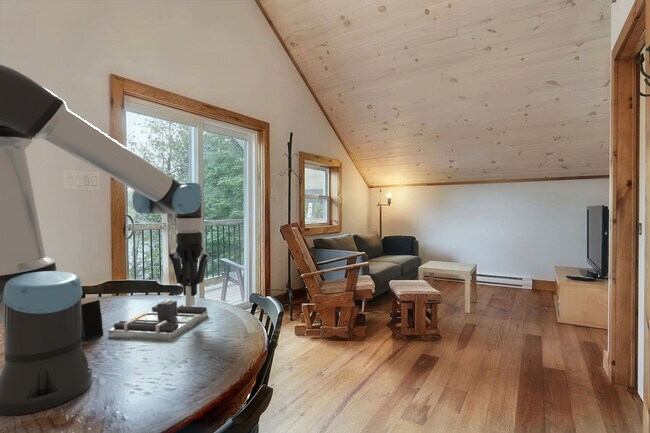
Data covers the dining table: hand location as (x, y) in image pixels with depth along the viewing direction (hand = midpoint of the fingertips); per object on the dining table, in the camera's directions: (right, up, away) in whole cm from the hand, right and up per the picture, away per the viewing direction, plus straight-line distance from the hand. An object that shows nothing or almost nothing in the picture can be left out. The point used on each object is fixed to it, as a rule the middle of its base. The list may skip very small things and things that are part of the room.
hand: (190, 305), depth 104 cm
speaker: (-26, -7, -9) cm, 28 cm away
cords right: (-7, -4, +9) cm, 12 cm away
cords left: (-9, -5, -8) cm, 13 cm away
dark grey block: (-8, -4, +1) cm, 9 cm away
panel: (-9, -6, 0) cm, 11 cm away
